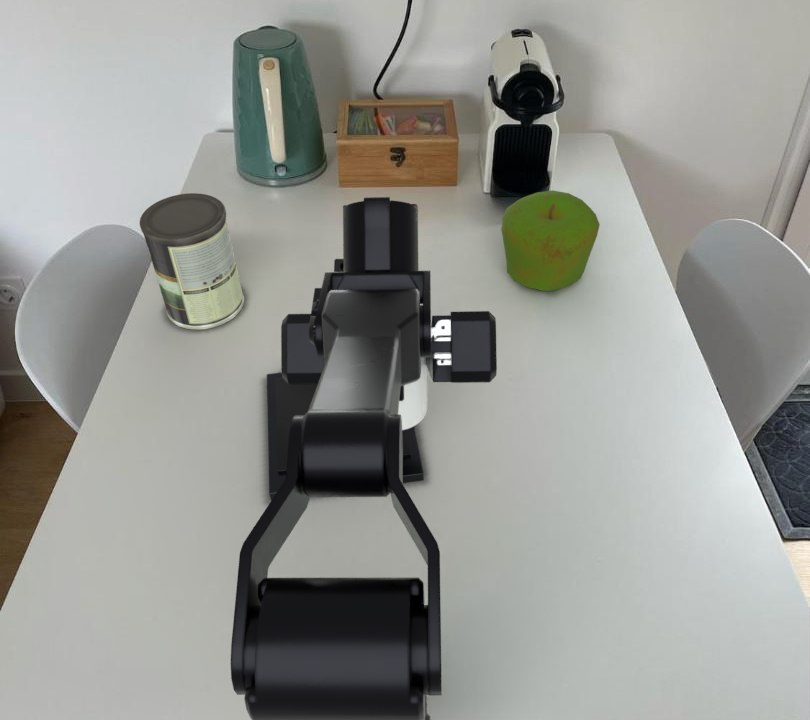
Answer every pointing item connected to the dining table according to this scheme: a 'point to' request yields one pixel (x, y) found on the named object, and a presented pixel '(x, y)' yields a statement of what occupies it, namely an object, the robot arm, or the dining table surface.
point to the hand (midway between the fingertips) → (393, 354)
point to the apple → (548, 239)
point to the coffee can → (193, 260)
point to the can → (414, 400)
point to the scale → (296, 401)
